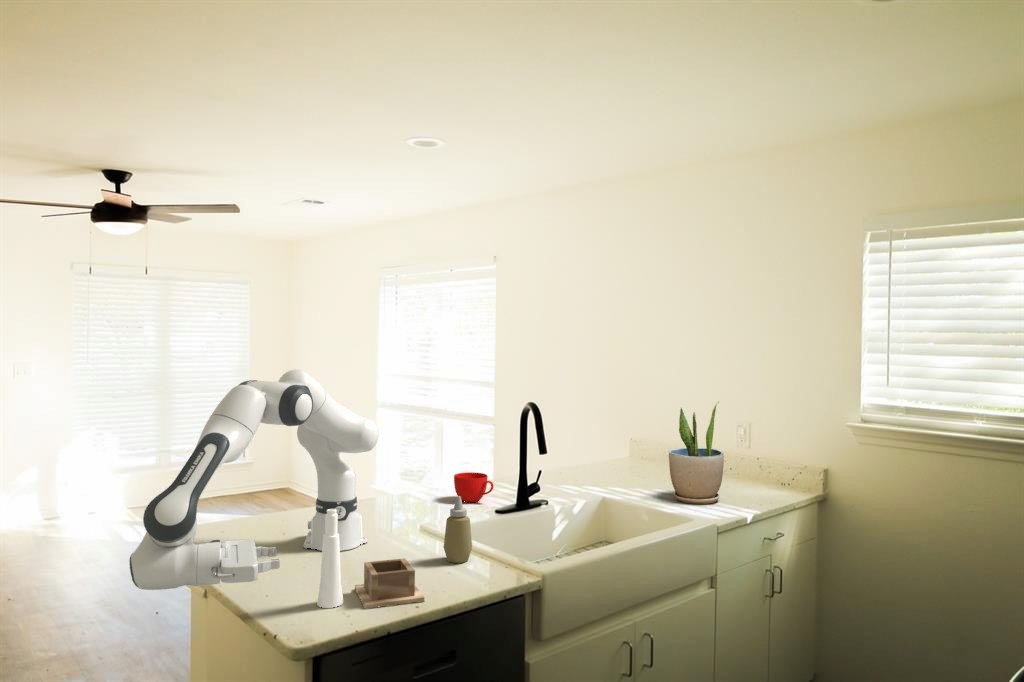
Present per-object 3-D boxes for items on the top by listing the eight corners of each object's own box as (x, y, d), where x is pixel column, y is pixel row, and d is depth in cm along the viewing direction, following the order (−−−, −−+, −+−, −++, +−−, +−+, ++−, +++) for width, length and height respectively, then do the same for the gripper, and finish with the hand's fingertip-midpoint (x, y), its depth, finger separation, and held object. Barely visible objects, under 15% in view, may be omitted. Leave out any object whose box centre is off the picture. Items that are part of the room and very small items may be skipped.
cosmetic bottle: (311, 604, 167) (312, 510, 167) (331, 597, 172) (332, 505, 172) (329, 610, 164) (330, 514, 164) (349, 602, 169) (350, 509, 169)
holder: (354, 589, 178) (355, 560, 178) (410, 582, 183) (410, 555, 183) (364, 609, 165) (365, 578, 165) (424, 601, 170) (424, 572, 170)
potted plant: (665, 504, 278) (667, 400, 278) (670, 492, 298) (671, 396, 298) (722, 508, 272) (724, 402, 271) (723, 496, 292) (724, 398, 292)
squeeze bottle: (448, 566, 197) (449, 500, 197) (439, 557, 205) (440, 494, 205) (476, 563, 201) (477, 498, 201) (466, 554, 208) (467, 492, 208)
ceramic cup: (482, 508, 266) (483, 481, 266) (446, 502, 275) (447, 476, 275) (502, 502, 277) (502, 476, 277) (466, 496, 286) (467, 471, 286)
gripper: (211, 563, 149) (281, 556, 154) (213, 537, 168) (275, 532, 173) (211, 593, 149) (281, 586, 154) (212, 564, 168) (275, 558, 173)
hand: (278, 557), depth 164 cm, fingers open, 8 cm apart
